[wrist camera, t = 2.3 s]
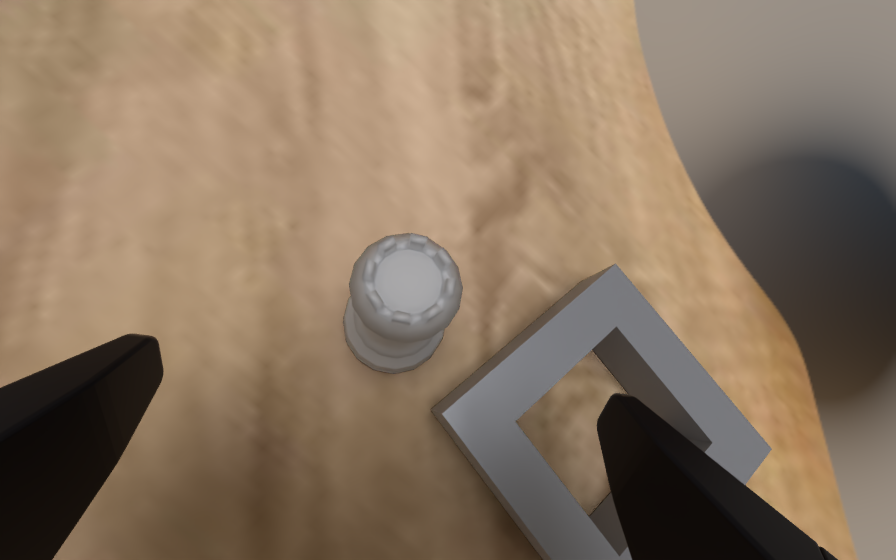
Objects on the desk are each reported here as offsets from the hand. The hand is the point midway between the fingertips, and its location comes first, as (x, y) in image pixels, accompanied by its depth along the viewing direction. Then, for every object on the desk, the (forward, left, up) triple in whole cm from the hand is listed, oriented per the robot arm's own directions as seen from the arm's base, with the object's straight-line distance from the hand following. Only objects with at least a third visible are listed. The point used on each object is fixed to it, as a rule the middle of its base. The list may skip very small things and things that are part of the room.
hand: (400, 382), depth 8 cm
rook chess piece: (+2, +2, -10) cm, 11 cm away
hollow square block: (+6, -7, -10) cm, 14 cm away
